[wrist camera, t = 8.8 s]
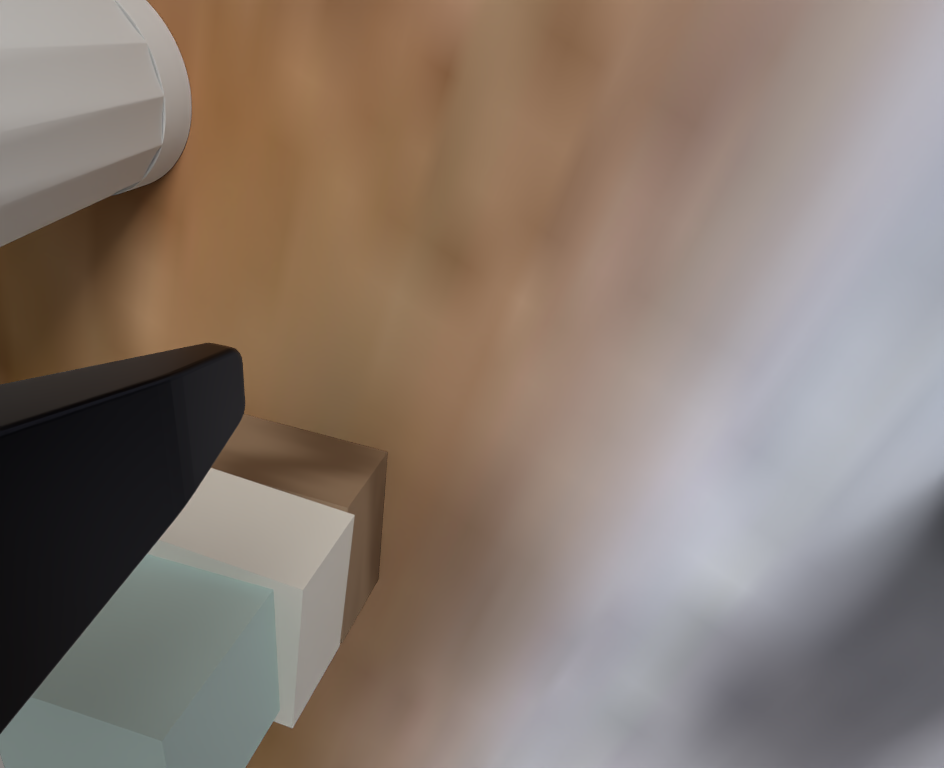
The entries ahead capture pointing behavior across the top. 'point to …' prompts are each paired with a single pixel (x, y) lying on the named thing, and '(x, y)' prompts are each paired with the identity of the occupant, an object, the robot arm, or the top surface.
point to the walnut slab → (319, 487)
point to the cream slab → (273, 568)
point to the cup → (84, 106)
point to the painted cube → (158, 679)
